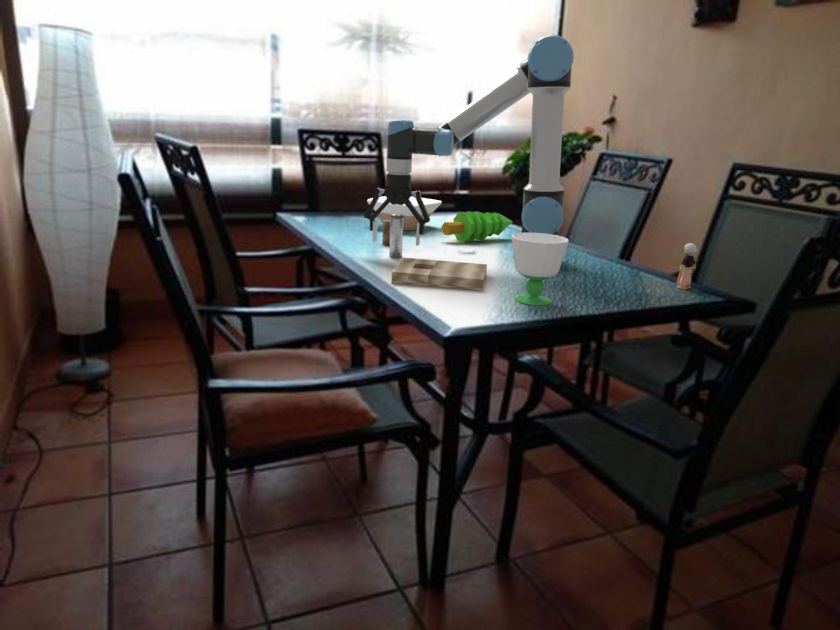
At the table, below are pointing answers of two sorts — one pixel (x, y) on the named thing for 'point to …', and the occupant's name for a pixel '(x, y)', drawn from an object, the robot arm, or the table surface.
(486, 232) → the decorative tree
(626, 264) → the table surface
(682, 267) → the grandmother figurine
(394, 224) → the pin
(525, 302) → the cup
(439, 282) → the board
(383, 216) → the bowl
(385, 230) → the walnut dowel
